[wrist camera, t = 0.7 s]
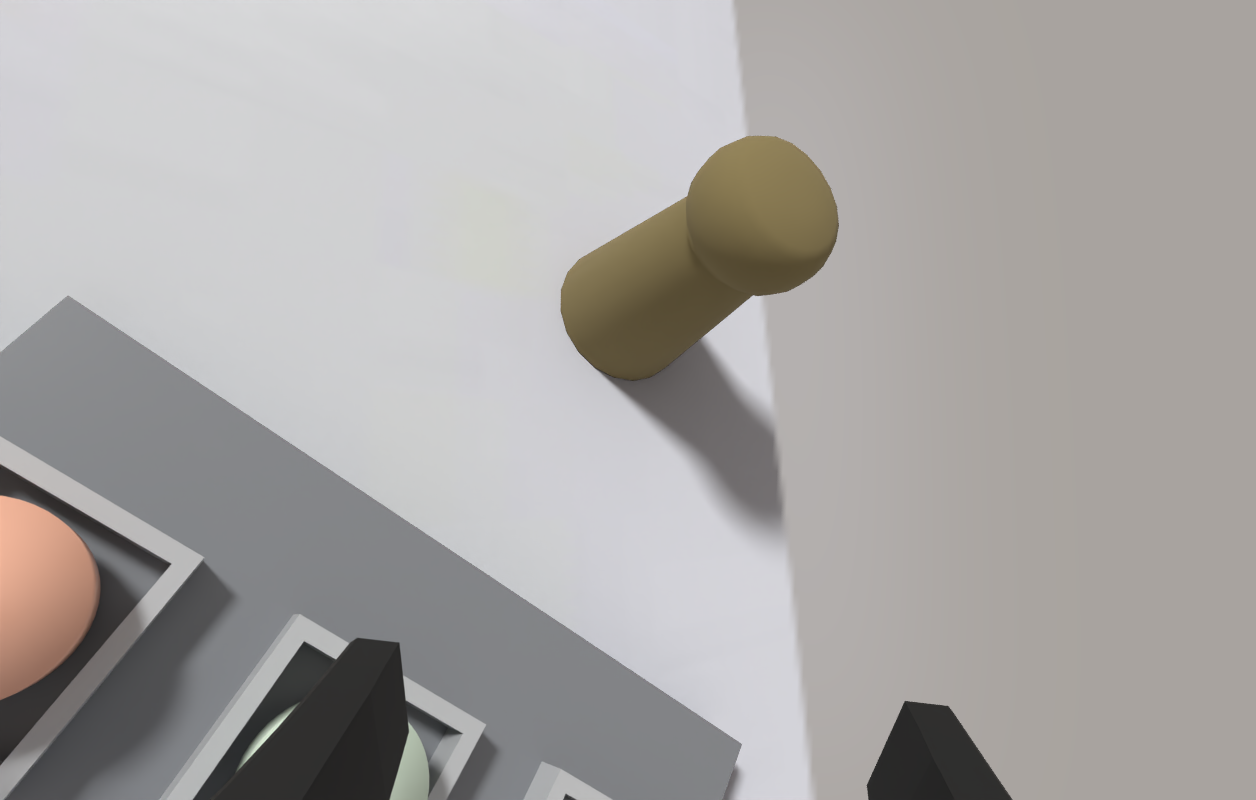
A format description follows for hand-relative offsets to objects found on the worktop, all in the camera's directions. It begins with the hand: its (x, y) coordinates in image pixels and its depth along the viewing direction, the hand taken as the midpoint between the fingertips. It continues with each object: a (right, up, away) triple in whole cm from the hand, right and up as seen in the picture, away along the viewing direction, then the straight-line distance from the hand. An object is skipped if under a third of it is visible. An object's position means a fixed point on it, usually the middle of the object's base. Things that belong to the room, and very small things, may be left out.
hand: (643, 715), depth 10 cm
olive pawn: (-1, +8, +21) cm, 23 cm away
